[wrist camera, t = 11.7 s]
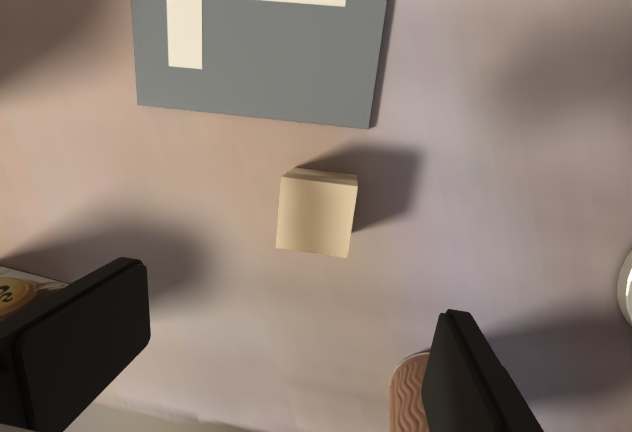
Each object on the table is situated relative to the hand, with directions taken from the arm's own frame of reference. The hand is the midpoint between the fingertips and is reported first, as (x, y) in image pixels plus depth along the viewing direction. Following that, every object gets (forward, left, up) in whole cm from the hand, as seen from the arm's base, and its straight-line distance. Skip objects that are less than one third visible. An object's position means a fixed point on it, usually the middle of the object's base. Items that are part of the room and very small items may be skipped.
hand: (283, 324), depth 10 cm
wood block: (0, 0, -17) cm, 17 cm away
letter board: (+6, -15, -16) cm, 23 cm away
